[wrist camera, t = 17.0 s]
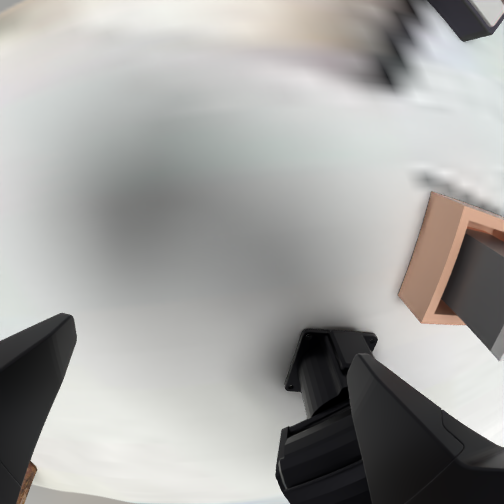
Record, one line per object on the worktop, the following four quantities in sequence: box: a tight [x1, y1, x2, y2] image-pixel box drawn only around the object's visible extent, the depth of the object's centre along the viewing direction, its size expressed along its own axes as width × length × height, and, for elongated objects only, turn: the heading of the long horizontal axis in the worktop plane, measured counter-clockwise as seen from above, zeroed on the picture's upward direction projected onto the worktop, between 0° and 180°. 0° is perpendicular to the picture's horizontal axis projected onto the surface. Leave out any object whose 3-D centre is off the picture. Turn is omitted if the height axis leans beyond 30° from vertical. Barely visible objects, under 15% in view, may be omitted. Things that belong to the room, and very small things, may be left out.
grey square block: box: [441, 226, 504, 361], centre depth 17 cm, size 5×5×10 cm
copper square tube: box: [398, 192, 504, 325], centre depth 20 cm, size 8×8×4 cm
